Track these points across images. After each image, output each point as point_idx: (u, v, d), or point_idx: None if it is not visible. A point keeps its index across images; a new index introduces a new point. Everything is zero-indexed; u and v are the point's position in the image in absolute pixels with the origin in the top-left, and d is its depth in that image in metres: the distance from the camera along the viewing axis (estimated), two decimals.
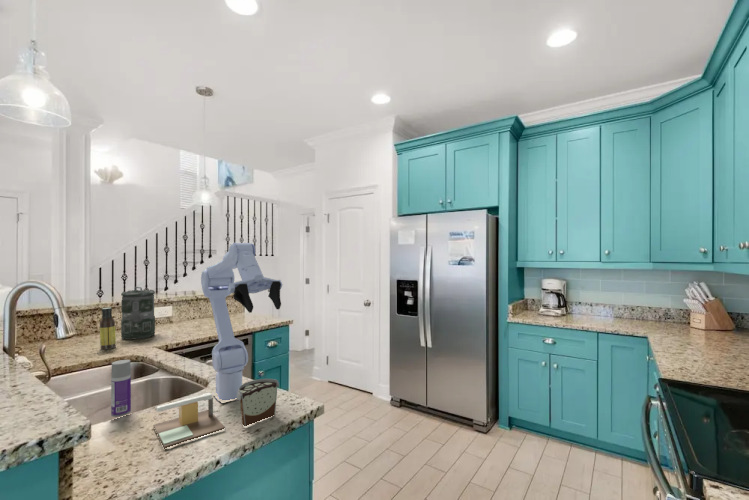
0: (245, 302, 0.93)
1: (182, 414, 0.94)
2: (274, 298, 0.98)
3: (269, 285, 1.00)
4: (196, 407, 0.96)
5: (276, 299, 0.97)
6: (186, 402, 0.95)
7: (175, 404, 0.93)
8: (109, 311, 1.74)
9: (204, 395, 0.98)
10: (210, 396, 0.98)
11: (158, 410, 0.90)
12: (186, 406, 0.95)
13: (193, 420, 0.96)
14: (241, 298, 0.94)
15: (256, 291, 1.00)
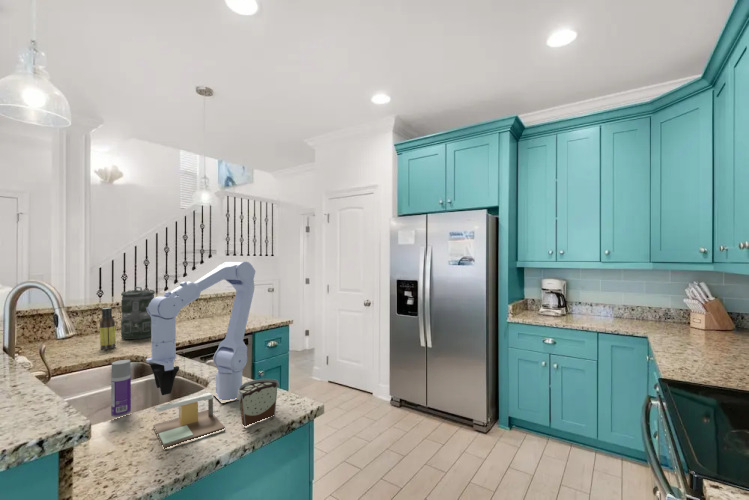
0: None
1: (182, 414, 0.94)
2: None
3: None
4: (196, 407, 0.96)
5: None
6: (186, 402, 0.95)
7: (175, 404, 0.93)
8: (109, 311, 1.74)
9: (204, 395, 0.98)
10: (210, 396, 0.98)
11: (158, 410, 0.90)
12: (186, 406, 0.95)
13: (193, 420, 0.96)
14: None
15: None
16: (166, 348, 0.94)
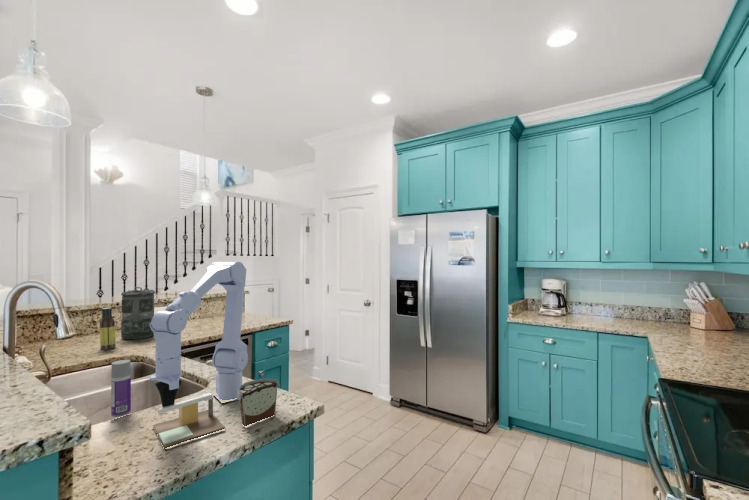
0: None
1: (182, 414, 0.94)
2: None
3: None
4: (196, 407, 0.96)
5: None
6: (187, 403, 0.94)
7: (177, 405, 0.92)
8: (109, 311, 1.74)
9: (204, 395, 0.98)
10: (211, 396, 0.98)
11: (160, 412, 0.89)
12: (186, 406, 0.95)
13: (193, 420, 0.96)
14: None
15: None
16: (171, 365, 0.90)
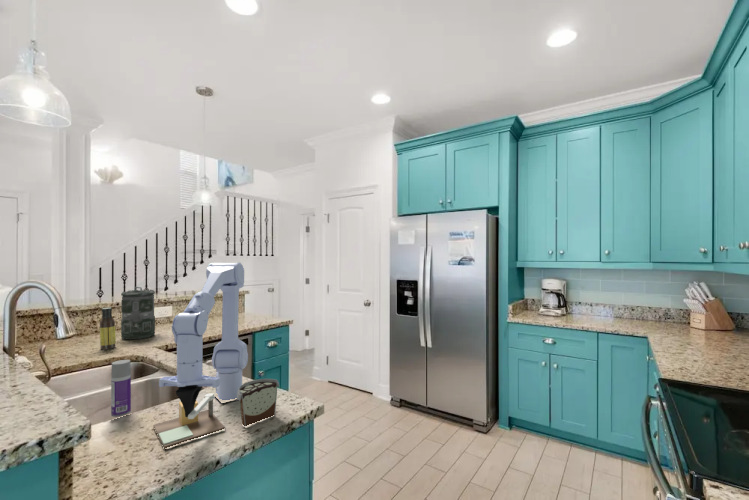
0: None
1: (182, 414, 0.94)
2: None
3: None
4: None
5: None
6: (204, 405, 0.93)
7: (199, 408, 0.90)
8: (109, 311, 1.74)
9: (209, 395, 0.97)
10: (213, 395, 0.99)
11: (193, 417, 0.86)
12: None
13: (193, 420, 0.96)
14: None
15: None
16: (201, 367, 0.88)
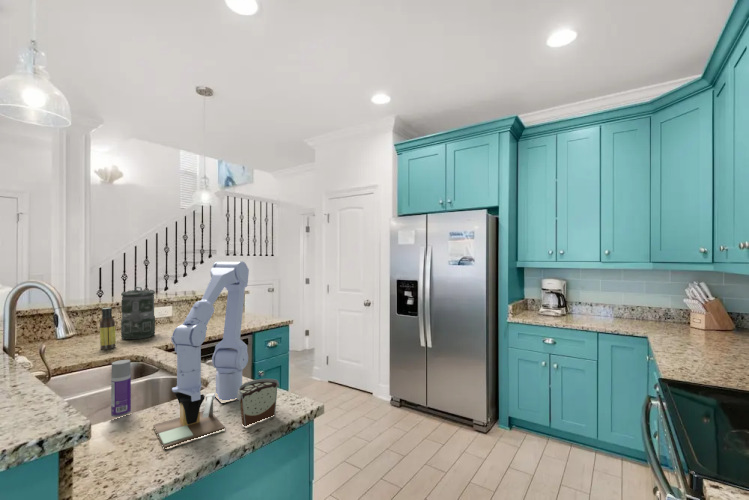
0: None
1: (184, 415, 0.93)
2: None
3: None
4: None
5: None
6: (210, 404, 0.93)
7: (209, 407, 0.91)
8: (109, 311, 1.74)
9: (211, 395, 0.98)
10: (214, 395, 0.99)
11: (208, 415, 0.87)
12: None
13: None
14: None
15: None
16: (192, 377, 0.94)
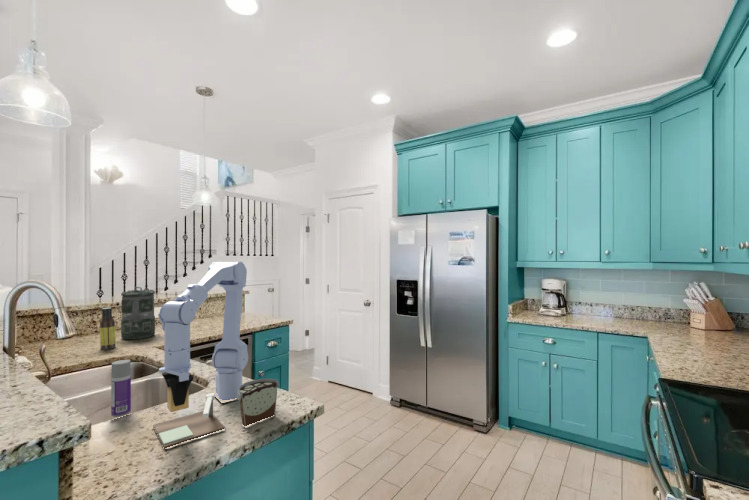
0: None
1: (171, 400, 0.87)
2: None
3: None
4: None
5: None
6: (210, 404, 0.93)
7: (209, 407, 0.91)
8: (109, 311, 1.74)
9: (211, 395, 0.98)
10: (214, 395, 0.99)
11: (208, 415, 0.87)
12: None
13: (183, 406, 0.89)
14: None
15: None
16: (180, 357, 0.88)
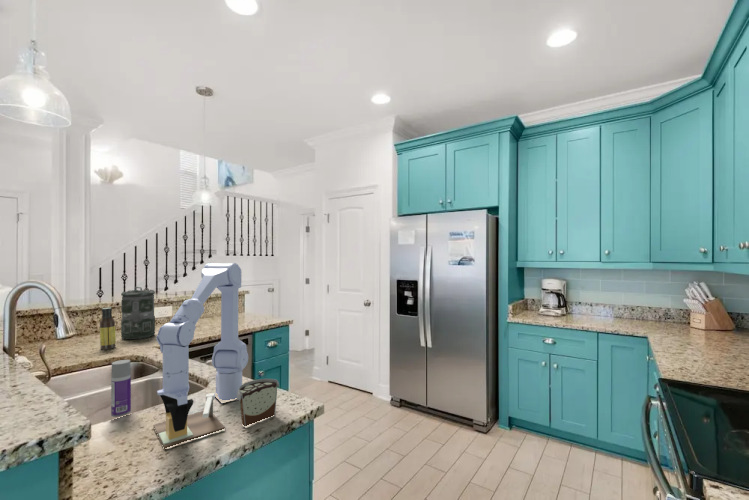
0: None
1: (170, 427, 0.86)
2: None
3: None
4: None
5: None
6: (210, 404, 0.93)
7: (209, 407, 0.91)
8: (109, 311, 1.74)
9: (211, 395, 0.98)
10: (214, 395, 0.99)
11: (208, 415, 0.87)
12: None
13: (182, 433, 0.88)
14: None
15: None
16: (179, 379, 0.87)
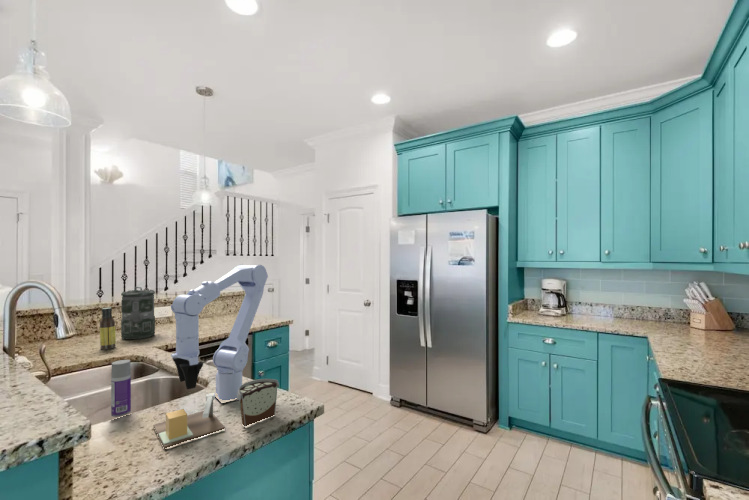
0: None
1: (170, 427, 0.86)
2: None
3: None
4: (185, 419, 0.89)
5: None
6: (210, 404, 0.93)
7: (209, 407, 0.91)
8: (109, 311, 1.74)
9: (211, 395, 0.98)
10: (214, 395, 0.99)
11: (208, 415, 0.87)
12: (174, 418, 0.87)
13: (182, 433, 0.88)
14: (187, 361, 1.05)
15: None
16: (190, 344, 0.99)
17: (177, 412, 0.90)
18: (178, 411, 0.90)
